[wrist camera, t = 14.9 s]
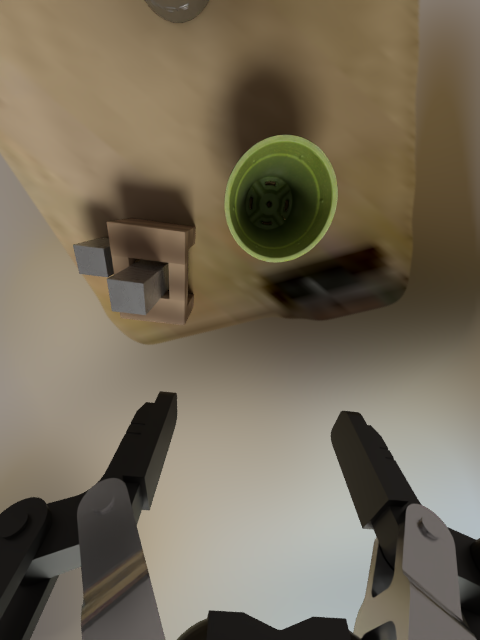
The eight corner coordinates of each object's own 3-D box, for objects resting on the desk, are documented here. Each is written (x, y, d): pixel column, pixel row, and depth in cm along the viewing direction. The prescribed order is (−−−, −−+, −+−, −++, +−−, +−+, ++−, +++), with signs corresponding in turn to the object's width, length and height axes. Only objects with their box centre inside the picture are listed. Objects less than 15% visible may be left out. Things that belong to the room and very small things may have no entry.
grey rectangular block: (102, 237, 36) (72, 244, 30) (127, 240, 36) (103, 248, 30) (106, 261, 38) (79, 273, 32) (130, 264, 38) (107, 277, 32)
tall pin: (152, 252, 37) (106, 278, 24) (176, 256, 37) (143, 283, 25) (154, 276, 39) (111, 311, 26) (177, 279, 39) (145, 315, 27)
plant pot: (248, 257, 37) (250, 278, 27) (216, 181, 32) (204, 172, 22) (318, 226, 34) (348, 236, 25) (295, 138, 29) (322, 106, 19)
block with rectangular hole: (131, 218, 34) (106, 221, 28) (195, 226, 35) (185, 232, 29) (139, 300, 41) (120, 317, 35) (193, 306, 41) (184, 325, 35)
